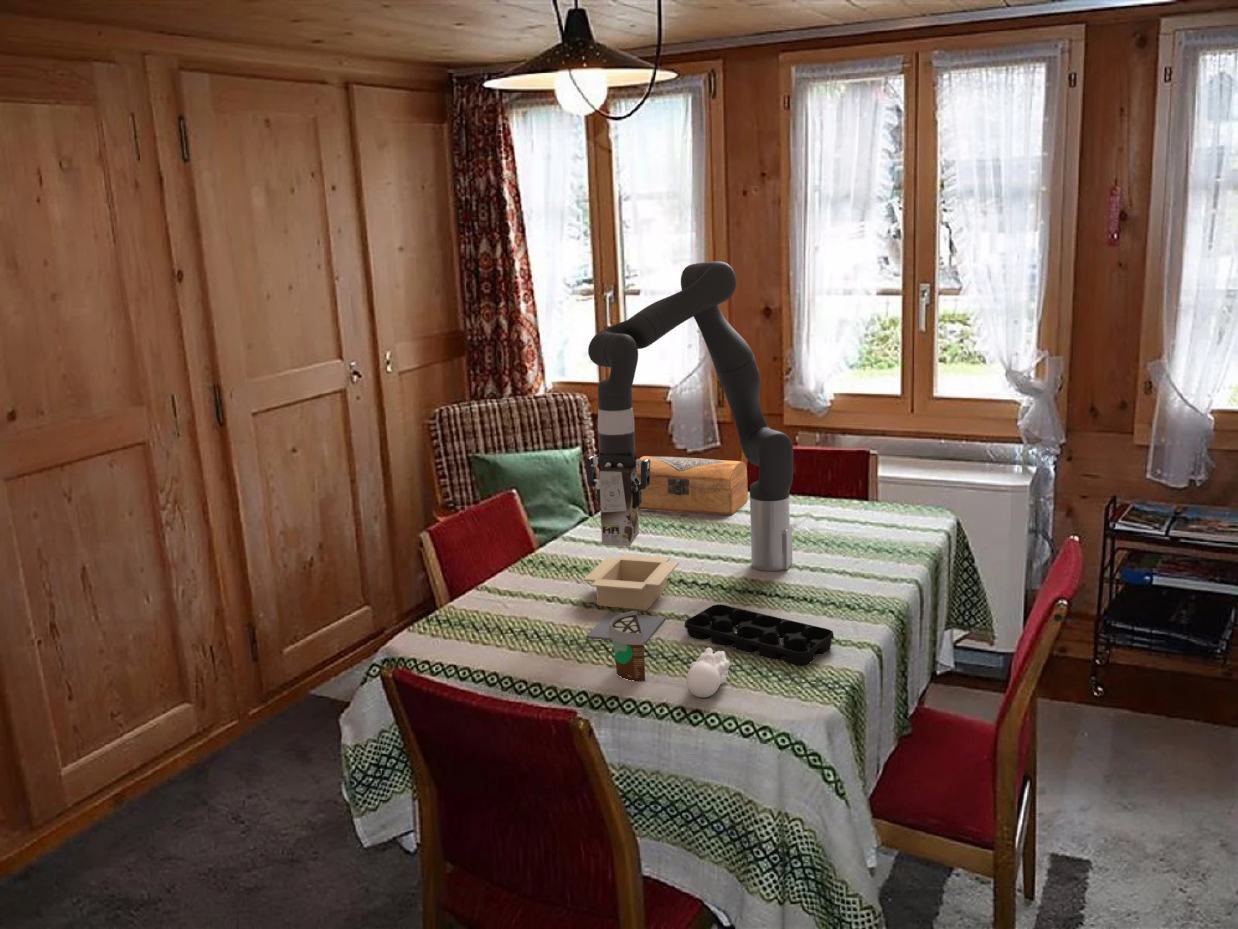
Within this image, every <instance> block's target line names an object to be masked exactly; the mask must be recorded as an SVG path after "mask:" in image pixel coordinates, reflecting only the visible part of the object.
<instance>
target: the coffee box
mask: <svg viewBox="0 0 1238 929" xmlns="http://www.w3.org/2000/svg"><path fill="white" fill-rule="evenodd" d="M634 471H635V472H636V474H637V466H635V467H634V469H631V468H625V469H624V468H618V467H611V468H604V467H603V468H602V467H601V468H600V470H599V471H598V472H599V474H598V475H599V477H598V479H599V478H600V503H599V506H600V525H601V528H600V529H601V531H600V532H601V545H602V546H622V547H629V546H632V544H633V542H634V541H635V539H636V538H637V537H638V535H640V534H639V533H640V527H639V526H640V524H639V521H640V520H639V509H638V508H633V501H632V491H633V489H632V481H631V477H632V476H633V475H634Z"/></svg>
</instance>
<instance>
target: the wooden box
mask: <svg viewBox="0 0 1238 929" xmlns="http://www.w3.org/2000/svg"><path fill="white" fill-rule="evenodd" d="M647 458H648V459H650V485H649V486H648V487H647V488H645V489H642V490H641V493H642V503H641V505H639V507H638V510H640V509H647V510H646V511H655V510H660V511H659V512H670V511H671V512H674V513H687V514H700V513H703V514H702V515H714V514H717V515H716V516H728V515H730V516H733V515H734V514H735V513H737V512H738V511H737V510H738V509H739V510H740V509H741V508H742V507H743V506H745V505H746V504H747V502H748V499H749V498H748V497H749V496H748V492H749V491H748V490H749V489H748V470H747V465H746V463H745V462H743V461H739V460H721V459H712V458H711V459H709V458H696V457H680V456H679V457H678V456H649V455H644V456H641V457H640V458H639V459H641V460H645V459H647ZM636 466H637V476H638V479H639V481H640V483H641V470H640V469H639V467H638V465H637V464H636ZM671 512H670V513H671Z"/></svg>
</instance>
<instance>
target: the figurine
mask: <svg viewBox="0 0 1238 929" xmlns="http://www.w3.org/2000/svg"><path fill="white" fill-rule="evenodd" d="M730 667H731V662H730V660H729V659H727V657H726V652H725V651H724V650H721V651H718V650H717V651H715V653H713V649H712V647H707V648H705V651H704V652H701V654H700V655H699V657H698V658H696V661H692V662H691V664H690V666H689V670H688V672H687V674H686V680H685V682H686V686H687V688H688V690H689V691H690V692H691V693H692V694H693V695H694V696H695V697H698V698H707V697H710V696H712V695H714V694H715V693H716V692H717V691H718V689H719V687H720V685H722V684H724V683H726V681H727V676H729V671H728V670H729V669H730Z"/></svg>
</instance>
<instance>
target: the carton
mask: <svg viewBox="0 0 1238 929" xmlns="http://www.w3.org/2000/svg"><path fill="white" fill-rule="evenodd" d="M670 559H671V557H669V556H655V555H654V556H653V555H641V554H640V555H638V554H621V556H619V557H618V558H617V557H605V558H604V560H603V561H601V562H600V563H599V564H598V565H597V566H595V568H593V569H592V570H591V571H590V572H589V573H588V574H587V575H586V576H585V577H584V578H583V581H584V582H592V583H591V584H590V587H592V588H596V599H597V604H596V605H597V606H598V605H600V607H610V608H611V607H612V608H621V607H625V608H624V609H633V610H634V609H636V610H646V611H647V610H648V609H649V608H650V607H651V606H652V605H653V604H654V602H655V601H657V599H658V598H659V597H660V595H661V594H662V593H663V592H664V591H665V590H666V589H667V587H668V577H669V576H670V575H671V574H672V573H673V571H674V570H676V568H677V567H678V566H679V562H676V561H675V562H674V561H670ZM664 589H665V590H664ZM601 605H602V606H601Z"/></svg>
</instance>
